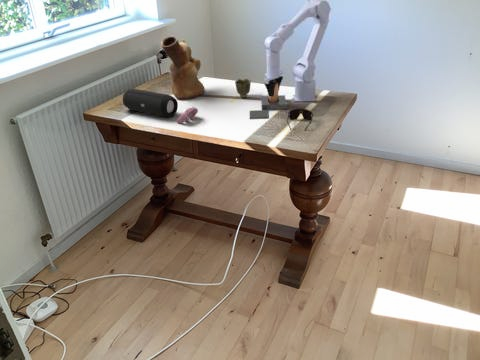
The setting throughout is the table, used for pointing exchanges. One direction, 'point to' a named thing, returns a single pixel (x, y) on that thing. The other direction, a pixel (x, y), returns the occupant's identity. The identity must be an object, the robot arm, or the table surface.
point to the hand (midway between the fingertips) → (273, 94)
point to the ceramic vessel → (183, 69)
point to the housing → (273, 103)
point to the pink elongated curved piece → (187, 115)
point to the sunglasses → (296, 112)
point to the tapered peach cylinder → (275, 97)
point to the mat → (258, 114)
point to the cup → (243, 87)
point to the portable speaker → (150, 102)
